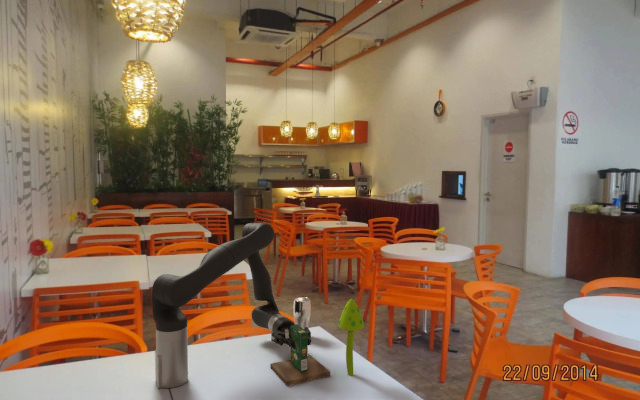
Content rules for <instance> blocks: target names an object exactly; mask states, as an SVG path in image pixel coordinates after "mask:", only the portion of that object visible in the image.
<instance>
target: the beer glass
mask: <svg viewBox="0 0 640 400" xmlns="http://www.w3.org/2000/svg"><path fill="white" fill-rule="evenodd" d="M292 309H293V310H292V311H293V314H292V315H293V321H294V324H298V325H299V326H300V327H302V328H303V329H304V328H305V327H308V329H309V327H310V326H309V325H310V319H311V313H312V306H311V299H310V298H309V297H306V296H303V297H302V296H299V297H295V298H293V307H292ZM309 330H310V329H309Z"/></svg>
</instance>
